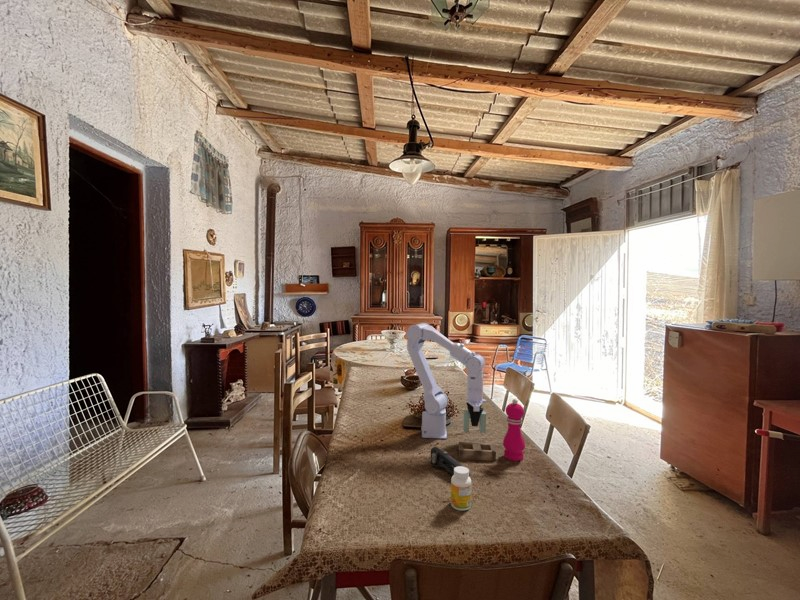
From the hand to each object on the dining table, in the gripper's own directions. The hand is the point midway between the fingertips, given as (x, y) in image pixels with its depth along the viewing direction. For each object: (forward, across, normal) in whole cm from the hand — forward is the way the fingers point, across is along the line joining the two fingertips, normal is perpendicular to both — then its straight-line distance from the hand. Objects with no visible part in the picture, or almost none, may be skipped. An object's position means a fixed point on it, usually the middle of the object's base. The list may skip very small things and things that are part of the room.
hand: (474, 424), depth 139 cm
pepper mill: (+7, -10, -13) cm, 17 cm away
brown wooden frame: (+7, -10, 0) cm, 12 cm away
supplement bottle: (+7, -40, +7) cm, 41 cm away
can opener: (+8, -22, +9) cm, 25 cm away
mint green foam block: (+2, 0, 0) cm, 2 cm away
